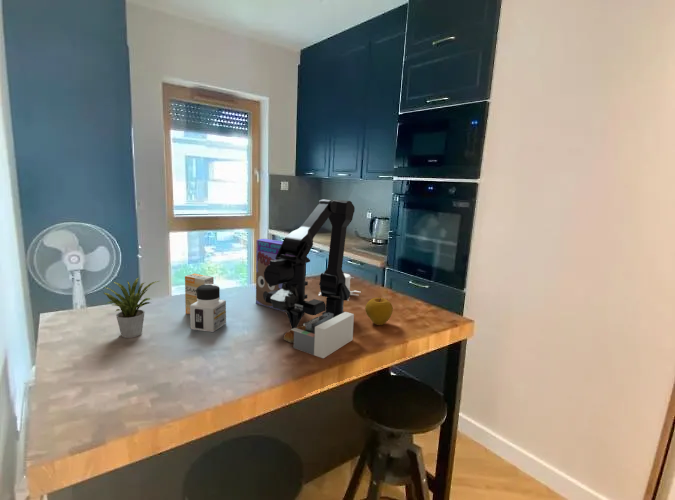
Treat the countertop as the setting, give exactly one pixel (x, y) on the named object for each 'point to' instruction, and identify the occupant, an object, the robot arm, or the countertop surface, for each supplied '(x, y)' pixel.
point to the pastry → (292, 334)
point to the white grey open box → (326, 336)
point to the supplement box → (194, 288)
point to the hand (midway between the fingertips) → (294, 329)
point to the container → (208, 309)
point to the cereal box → (264, 255)
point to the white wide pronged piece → (347, 284)
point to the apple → (379, 310)
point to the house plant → (130, 309)
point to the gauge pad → (317, 322)
